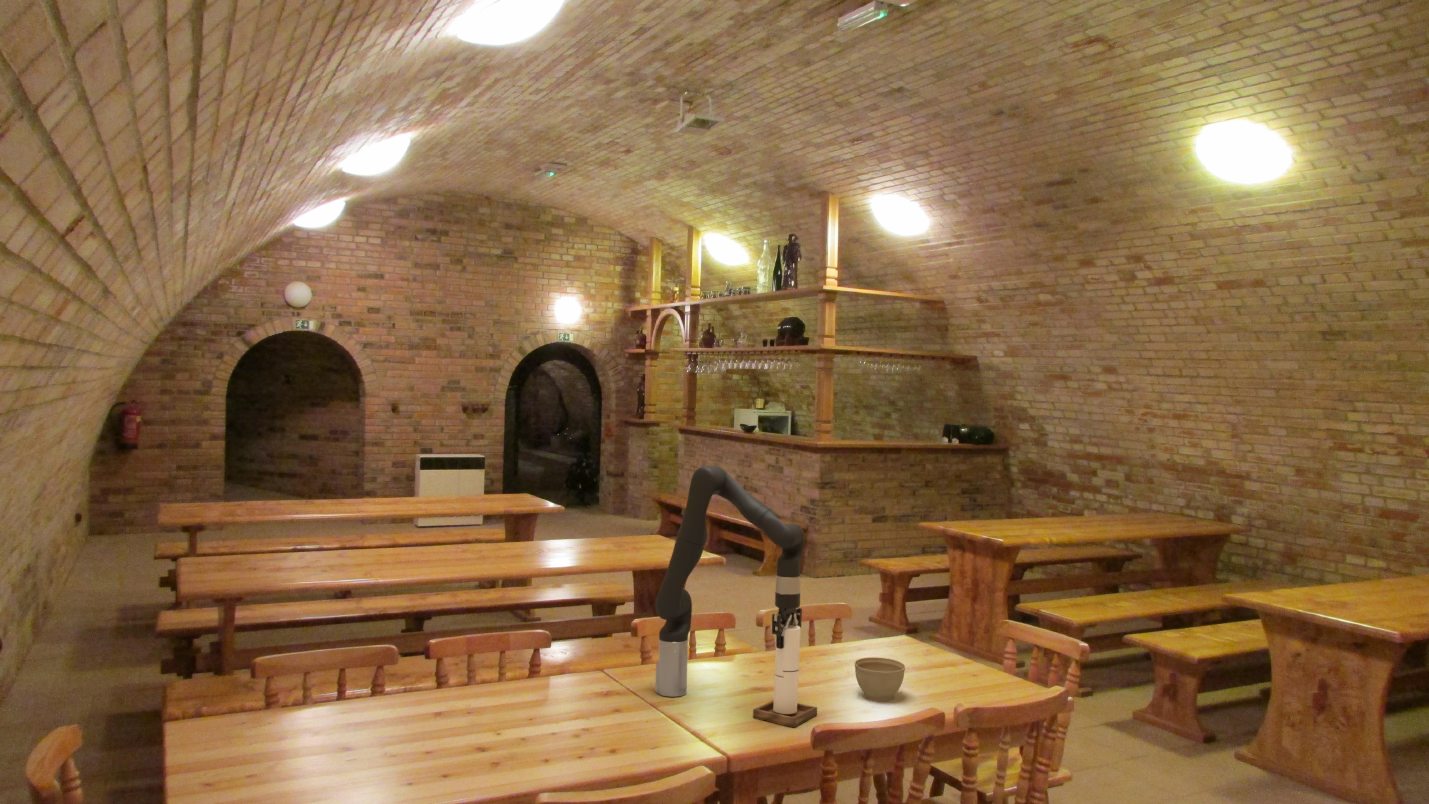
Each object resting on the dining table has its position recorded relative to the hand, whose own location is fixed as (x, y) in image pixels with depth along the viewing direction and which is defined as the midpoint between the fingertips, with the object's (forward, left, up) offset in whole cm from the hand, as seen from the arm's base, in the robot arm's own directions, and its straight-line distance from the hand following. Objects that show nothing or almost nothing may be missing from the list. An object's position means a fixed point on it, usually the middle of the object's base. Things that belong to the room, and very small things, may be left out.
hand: (786, 645), depth 290 cm
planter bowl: (+14, +36, -21) cm, 44 cm away
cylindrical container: (0, 0, -20) cm, 20 cm away
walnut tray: (0, 0, -21) cm, 21 cm away
